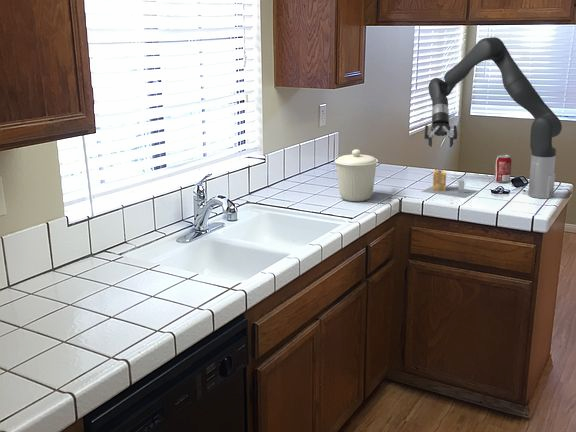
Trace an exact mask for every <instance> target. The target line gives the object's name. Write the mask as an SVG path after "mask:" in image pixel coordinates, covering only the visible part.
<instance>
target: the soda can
mask: <svg viewBox="0 0 576 432" xmlns="http://www.w3.org/2000/svg"><path fill="white" fill-rule="evenodd" d="M511 170H512V159H511V155H509V154H499V155H497V157H496V159H495V169H494V181H495V182H496V183H499V184H507V183H509V182H510V181H511V172H512V171H511Z"/></svg>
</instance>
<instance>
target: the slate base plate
mask: <svg viewBox="0 0 576 432" xmlns="http://www.w3.org/2000/svg"><path fill="white" fill-rule="evenodd" d="M421 192H422V193H429V194H434V195H435V194H436V195H442V196H447V197H455V198H461V199H467V198H469V197H470V196H472V195H475V194H476V193H478V192H479V190H476V189H469V188H468V189H467V188H464V193H458V187H453V186H447V185H446V189H445V191H433V185H431V186H430V187H428V188H426V189H424V190H421Z"/></svg>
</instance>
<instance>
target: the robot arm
mask: <svg viewBox="0 0 576 432" xmlns="http://www.w3.org/2000/svg"><path fill="white" fill-rule="evenodd" d="M490 60H492V61H493V63H494V64H495V65H496V66H497V68H498V69H499V71H500V73H501V80H502V85H503V87H504V89H505V90H506V92H507V94H508V95H509V96H510V98H511V99H512V100H513V101H514V102H515V103H516V104H517V105H519V106H520V107H522V108H523V109H524V110H526V111H527V112H528V113H530V115H531V116H532V117H533V119H534V120H533V121H532V123H531V126H530V135H529V136H530V139H529V140H530V142H529V144H530V145H529V147H530V151H531V155H530V156H531V157H530V166H529V167H530V168H529V180H528V190H527V191H528V193H527V195H528V196H529V197H532V198H535V199H550V198H552V197H553V196H554V191H555V180H556V173H555V167H556V166H555V165H556V154H557V149H556V147H553V140H552V139H553V138H554V137H555V138H556V137H557V136H559V135H560V134H561V132H562V127H563V126H562V122H561V120H560V118H559V117H558V116H557V115H556V114H555V113H554V112H553V110H552V109H551V108H550V107H549V106H548V105H547V104H546V103H545V101H544V100H543V99H542V97H541V96H540V95H539V93H538V92H537V90H536V89H535V87H534V86H533V85H532V83H531V82H530V81H529V79H528V78H527V76H526V75H525V74H524V72H523V71H522V70H521V69H520V68H519V66H518V64H517V63H516V62H515V60H514V58H513V57H512V55H511V54H510V52H509V50H508V48H507V47H506V44H505V43H504V42H503V40H502V39H501V38H498V37H495V36H494V37H485V38H482V39H480V40H479V41H478V42H477V43H476V44H475V45H474V46H473V48H471V50H470V51H469V52H468V53H467V54H466V55H465V56H464V57H463V58H462V59H461V60H460V61H459V62H458V63H457V64H455V65H454V66H453V67H451V68H450V69H449V70H448V71H447V72H446V73H445V74H443V75H444V76H443V78H444V80H443V79H441V78H440V77H439V78H438V77H434V78H432V79H430V81H429V83H428V88H427V89H428V93H429V96H430V100H431V105H432V106H431V107H432V109H431V125H430V126H429V125H427V124H426V125H424V136H423V137H424V139H425V140H428V141H427V142H428V146H429V147H430V148H432V147H433V138H435V137H446V138H447V139H448V140H449V148H452V147H453V146H454V140H457V139H458V130H457V128H458V127H457V125H453V126H450V112H449V111H450V110H449V99H448V96H450V94H451V93H452V91H453V90H454V89H455V87H456V86H457V85H458V84H459V83H460V82H461V81H463V80H464V79H465V78H466V77H467V76H468V75H469V74H470V73H471V70H472V69H473V68H474V67H475V66H476V65H478V64H480V63H482V62H484V61H490ZM430 131H431V133H428V132H430ZM451 132H453V134H452V133H451Z"/></svg>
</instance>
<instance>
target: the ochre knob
mask: <svg viewBox="0 0 576 432" xmlns="http://www.w3.org/2000/svg"><path fill="white" fill-rule="evenodd" d="M432 175H433V176H432V186H433V191H445V189H446V186H447V171H446V170H445V169H442V170H441V169H439V170H438V169H435V170H433V171H432Z"/></svg>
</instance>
